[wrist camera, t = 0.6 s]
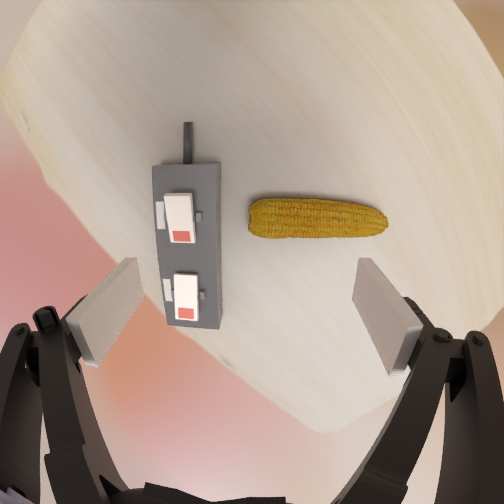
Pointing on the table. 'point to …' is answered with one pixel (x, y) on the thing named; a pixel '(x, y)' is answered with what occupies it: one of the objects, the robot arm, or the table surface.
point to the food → (314, 219)
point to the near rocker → (180, 217)
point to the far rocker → (186, 296)
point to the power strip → (207, 234)
